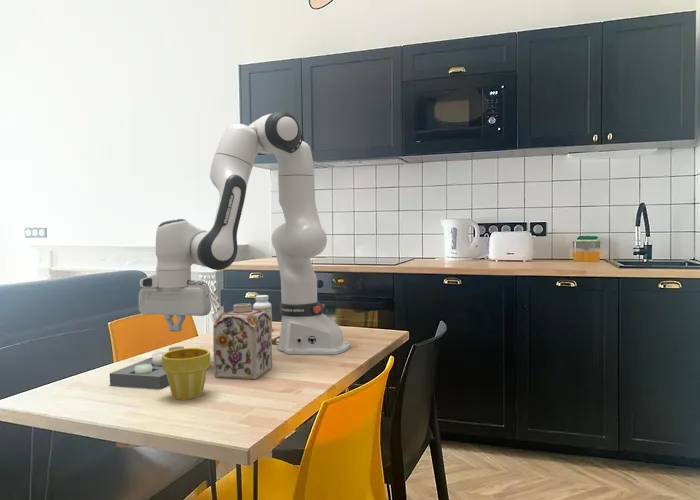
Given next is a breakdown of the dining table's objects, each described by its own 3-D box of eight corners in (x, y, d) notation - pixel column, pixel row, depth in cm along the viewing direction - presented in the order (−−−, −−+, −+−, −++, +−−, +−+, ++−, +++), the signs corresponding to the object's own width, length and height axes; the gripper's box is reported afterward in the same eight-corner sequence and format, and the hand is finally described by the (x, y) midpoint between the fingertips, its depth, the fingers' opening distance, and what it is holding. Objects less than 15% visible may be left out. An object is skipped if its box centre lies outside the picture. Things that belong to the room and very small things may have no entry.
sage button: (155, 376, 134) (155, 364, 134) (145, 381, 130) (145, 368, 130) (142, 375, 135) (141, 363, 135) (131, 380, 132) (131, 367, 131)
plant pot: (197, 404, 117) (196, 359, 116) (154, 401, 119) (152, 357, 118) (218, 389, 127) (217, 348, 126) (178, 387, 129) (177, 346, 129)
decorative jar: (256, 380, 134) (254, 308, 133) (212, 378, 137) (210, 307, 136) (273, 367, 145) (272, 301, 145) (233, 366, 148) (231, 300, 147)
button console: (207, 366, 148) (206, 355, 148) (160, 389, 128) (159, 376, 128) (162, 363, 152) (162, 353, 152) (110, 385, 132) (109, 373, 131)
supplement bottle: (254, 329, 199) (253, 294, 199) (272, 329, 200) (272, 294, 199) (252, 333, 193) (251, 297, 192) (271, 332, 193) (270, 296, 192)
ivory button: (172, 364, 141) (171, 352, 141) (163, 368, 137) (162, 356, 137) (159, 363, 142) (158, 352, 142) (149, 367, 138) (149, 355, 138)
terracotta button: (187, 357, 148) (187, 346, 148) (179, 361, 144) (178, 350, 144) (174, 357, 149) (174, 346, 149) (165, 360, 145) (165, 349, 145)
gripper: (214, 279, 145) (215, 330, 146) (149, 278, 151) (150, 327, 152) (202, 281, 139) (203, 335, 140) (134, 280, 145) (135, 331, 146)
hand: (175, 331), depth 146 cm, fingers closed
